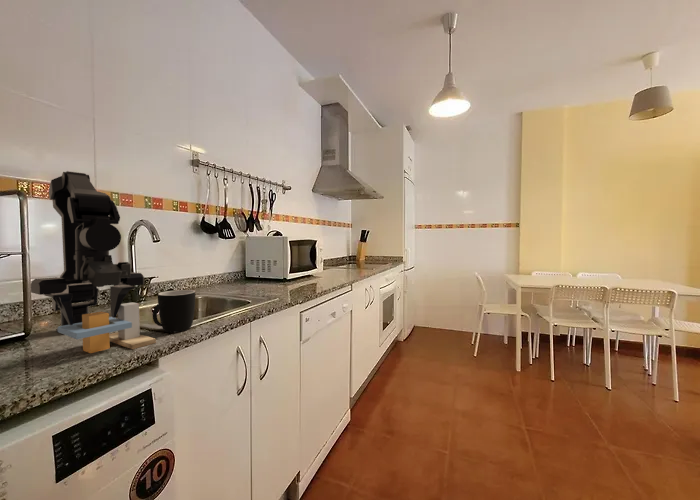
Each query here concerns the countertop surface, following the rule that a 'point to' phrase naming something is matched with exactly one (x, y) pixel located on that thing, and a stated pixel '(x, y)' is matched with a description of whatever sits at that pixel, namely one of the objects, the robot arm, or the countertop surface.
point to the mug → (175, 310)
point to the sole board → (132, 341)
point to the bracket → (110, 325)
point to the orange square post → (96, 341)
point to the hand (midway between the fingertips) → (93, 320)
